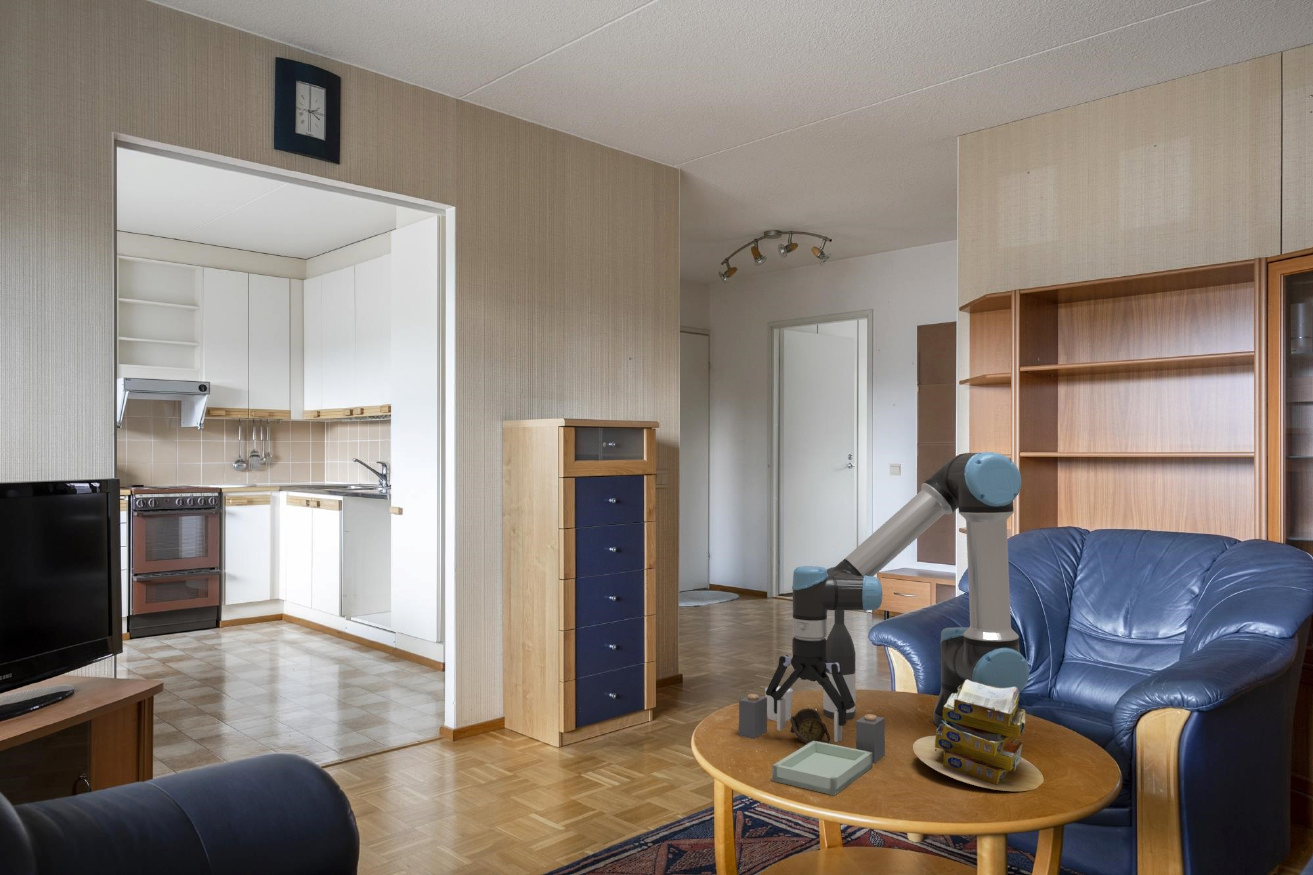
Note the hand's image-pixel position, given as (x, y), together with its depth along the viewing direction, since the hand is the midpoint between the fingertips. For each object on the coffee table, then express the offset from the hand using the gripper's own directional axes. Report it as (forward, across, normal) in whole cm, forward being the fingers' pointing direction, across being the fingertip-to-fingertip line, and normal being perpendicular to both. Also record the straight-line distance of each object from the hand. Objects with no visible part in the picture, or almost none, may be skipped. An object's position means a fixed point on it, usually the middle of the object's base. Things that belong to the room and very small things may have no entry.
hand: (809, 734), depth 193 cm
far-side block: (+2, -14, 0) cm, 14 cm away
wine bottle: (+2, -4, +26) cm, 26 cm away
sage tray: (+2, +10, -15) cm, 18 cm away
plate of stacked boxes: (+2, +34, +5) cm, 35 cm away
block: (+2, +14, 0) cm, 14 cm away
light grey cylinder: (+2, -15, +15) cm, 21 cm away
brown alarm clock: (+3, 0, 0) cm, 3 cm away
